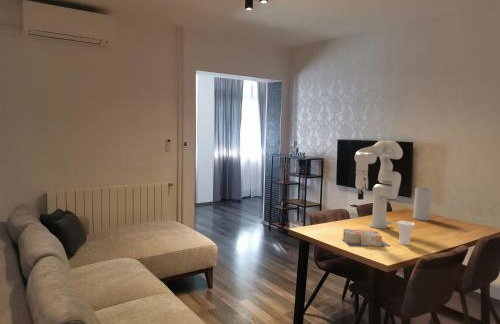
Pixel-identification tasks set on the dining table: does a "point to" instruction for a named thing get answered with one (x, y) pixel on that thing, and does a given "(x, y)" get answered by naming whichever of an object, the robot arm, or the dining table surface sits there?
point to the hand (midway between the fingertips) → (360, 199)
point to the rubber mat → (366, 245)
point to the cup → (405, 231)
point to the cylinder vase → (422, 204)
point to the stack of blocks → (362, 237)
